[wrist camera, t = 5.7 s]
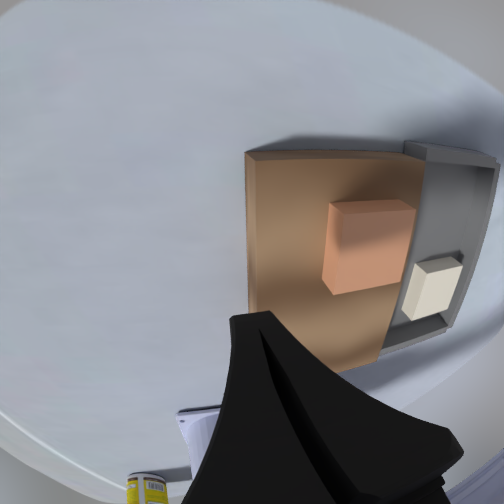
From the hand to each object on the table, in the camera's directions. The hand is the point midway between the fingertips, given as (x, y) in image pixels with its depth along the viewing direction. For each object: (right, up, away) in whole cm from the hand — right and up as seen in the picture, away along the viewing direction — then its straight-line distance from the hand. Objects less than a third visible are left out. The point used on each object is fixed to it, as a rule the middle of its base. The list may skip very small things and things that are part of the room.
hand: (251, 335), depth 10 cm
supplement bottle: (-14, -28, +21) cm, 38 cm away
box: (+14, +3, +11) cm, 18 cm away
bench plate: (+5, +1, +10) cm, 11 cm away
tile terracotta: (+6, +3, +6) cm, 9 cm away
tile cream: (+15, -1, +11) cm, 19 cm away
